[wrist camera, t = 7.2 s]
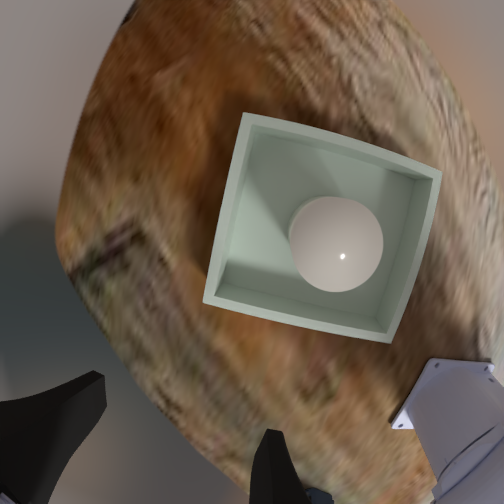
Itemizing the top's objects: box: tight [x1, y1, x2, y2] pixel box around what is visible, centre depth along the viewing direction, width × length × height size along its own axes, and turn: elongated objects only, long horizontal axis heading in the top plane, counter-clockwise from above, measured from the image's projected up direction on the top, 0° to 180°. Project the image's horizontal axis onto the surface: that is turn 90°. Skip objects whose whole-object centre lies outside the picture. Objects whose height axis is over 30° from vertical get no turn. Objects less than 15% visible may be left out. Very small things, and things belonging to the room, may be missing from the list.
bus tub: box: [203, 112, 442, 344], centre depth 16 cm, size 12×11×3 cm
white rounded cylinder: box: [288, 196, 383, 292], centre depth 15 cm, size 4×4×5 cm
